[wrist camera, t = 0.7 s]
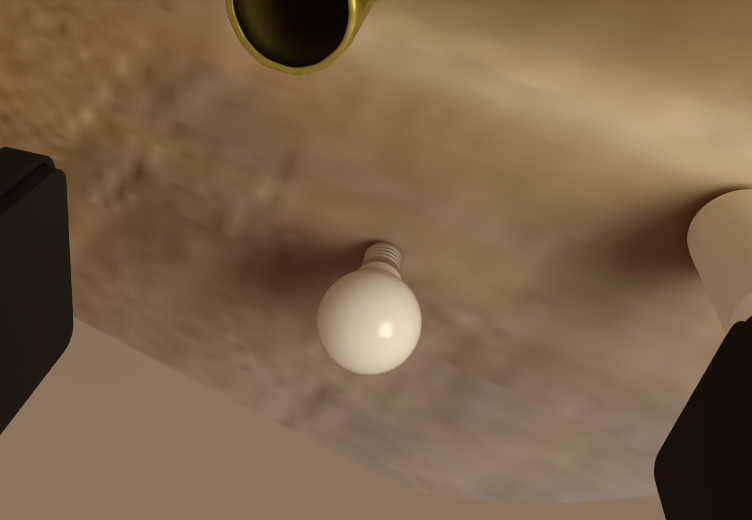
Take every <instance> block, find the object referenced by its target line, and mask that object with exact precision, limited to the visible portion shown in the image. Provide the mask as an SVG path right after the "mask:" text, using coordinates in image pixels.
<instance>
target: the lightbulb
mask: <svg viewBox="0 0 752 520" xmlns="http://www.w3.org/2000/svg"><path fill="white" fill-rule="evenodd" d="M402 263H403V258H402V255H401V253H400V251H399V250H398V249H397V248H396V247H395V246H393V245H391V244H388V243H376V244H373V245H371V246H370V247H369V248H368V249H367V250H366V252H365V255H364V258H363V262H362V266H361V267H360V268H359V269H358V270H357V271H353V272H350V273H348V274H346V275H344V276H342V277H341V278H339V279H338V280H336V281H335V282H334V283H333V284H332V285H331V286H330V287H329V288H328V290H327V291H326V292H325V294H324V296H323V297H322V299H321V302H320V304H319V307H318V311H317V319H316V325H317V333H318V337H319V340H320V343H321V345H322V347H323V349H324V350H325V352H326V353H327V355H328V356H329V357H330V358H331V359H332V360H333V361H334V362H335V363H336V364H337V365H339V366H340V367H342V368H344V369H345V370H348V371H350V372H353V373H356V374H361V375H377V374H382V373H385V372H388V371H391V370H393V369H395V368H396V367H398V366H399V365H401V364H402V363H403V362H404V361H405V360H406V359H407V358H408V357H409V356H410V355H411V353H412V352H413V351H414V349H415V347H416V345H417V343H418V340H419V338H420V334H421V328H422V316H421V310H420V306H419V304H418V301H417V299H416V297H415V295H414V293H413V292H412V291H411V289H410V288H409V287H408V286H407V285H406V284H405V283H404V282H403V281H402V278H401V276H400V274H401V268H402Z"/></svg>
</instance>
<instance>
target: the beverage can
mask: <svg viewBox="0 0 752 520" xmlns="http://www.w3.org/2000/svg"><path fill="white" fill-rule="evenodd" d="M687 244H688V249H689V252H690V255H691V258H692V260H693V262H694V264H695V267H696V269H697V271H698V273H699V275H700V278H701V280H702V282H703V284H704V286H705V289H706V291H707V293H708V295H709V297H710V299H711V302H712V304H713V306H714V308H715V310H716V312H717V315H718V317H719V319H720V321H721V323H722V325H723V328H724V330H725V332H726V334H727V333H728V332H729V330H730V328H731V327H732V326H733V324H735V323H736V322H738V321H746V320H747V319H748V318H749V317H751V316H752V189H745V190H737V191H732V192H729V193H726V194H723V195H721V196H719V197H717V198H715V199H713V200H712V201H710V202H709V203H707V204H706V205H705V206H704V207H703V208H702V209H701V210H700V211H699V212H698V213H697V214H696V215H695V217H694V218H693V220H692V222H691V224H690V227H689V230H688V234H687Z"/></svg>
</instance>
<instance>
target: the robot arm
mask: <svg viewBox="0 0 752 520" xmlns="http://www.w3.org/2000/svg"><path fill="white" fill-rule="evenodd" d="M72 331H73V307H72V287H71V267H70V246H69V226H68V206H67V186H66V177H65V174H64V172H63V171H62V170H60V169H55V165H54V163H53V161H52V159H51V158H50V157H49V156H45V155H41V154H36V153H32V152H27V151H23V150H18V149H14V148H8V147H3V148H1V149H0V435H1V433H2V432H3V431H4V429H5V428H6V427H7V425H8V424H9V423H10V422H11V420H12V419H13V417H14V416H15V415H16V414H17V412H18V411H19V410H20V408H21V407H22V406H23V405H24V403H25V402H26V401H27V399H28V398H29V397H30V395H31V394H32V393H33V391H34V390H35V389H36V388H37V386H38V385H39V384H40V382H41V381H42V380H43V378H44V377H45V376H46V374H47V373H48V372H49V371H50V369H51V368H52V367H53V365H54V364H55V363H56V361H57V360H58V359H59V357H60V356H61V355H62V354H63V352H64V351H65V349H66V348H67V346H68V344H69V342H70V339H71V336H72ZM654 477H655V482H656V486H657V489H658V493H659V497H660V500H661V504H662V507H663V511H664V514H665V518H666V520H752V316H751V317H749V318H748V319H747V320H746V321H738V322H736V323H735V324H733V326H732V327H731V328H730V330H729V332H728V333H727V335H726V337H725V338H724V340H723V342H722V344H721V345H720V347H719V349H718V351H717V352H716V354H715V356H714V357H713V359H712V361H711V363H710V364H709V366H708V368H707V370H706V371H705V373H704V375H703V376H702V378H701V380H700V382H699V383H698V385H697V387H696V389H695V390H694V392H693V394H692V395H691V397H690V399H689V401H688V402H687V404H686V406H685V408H684V409H683V411H682V413H681V414H680V416H679V418H678V420H677V421H676V423H675V425H674V426H673V428H672V430H671V432H670V433H669V435H668V437H667V439H666V440H665V442H664V444H663V445H662V447H661V449H660V451H659V452H658V455H657V457H656V461H655V466H654Z"/></svg>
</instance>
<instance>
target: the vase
mask: <svg viewBox="0 0 752 520" xmlns="http://www.w3.org/2000/svg"><path fill="white" fill-rule="evenodd" d="M375 1H377V0H226V6H227V12H228V16H229V20H230V22H231V24H232V26H233V29H234V31H235V33H236V35H237V37H238V39H239V41H240V42H241V44H242V45H243V46H244V48H245V49H246V50H247V51H248V52H249V53H250V54H251V55H252V56H253V57H254V58H255V59H256V60H257V61H259V62H260V63H262V64H263V65H265V66H267V67H269V68H272V69H275V70H278V71H281V72H284V73H288V74H293V75H301V74H308V73H312V72H316V71H319V70H321V69H323V68H325V67H327V66H329V65H330V64H331V63H332V62H333V61H334V60H336V59H337V58H338V57H339V56H340V55H341V54H342V53H343V52H344V51H345V50H346V49H347V48H348V47H349V46H350V44H351V43H352V41H353V39H354V37H355V35H356V34H357V32H358V30H359V28H360V26H361V24H362V23H363V21H364V20H365V18H366V16H367V15H368V13H369V11H370V9H371V7H372V5H373V3H374V2H375Z"/></svg>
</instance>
